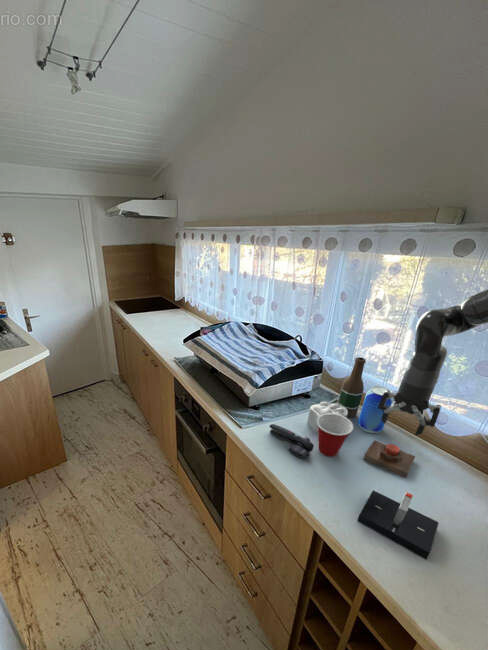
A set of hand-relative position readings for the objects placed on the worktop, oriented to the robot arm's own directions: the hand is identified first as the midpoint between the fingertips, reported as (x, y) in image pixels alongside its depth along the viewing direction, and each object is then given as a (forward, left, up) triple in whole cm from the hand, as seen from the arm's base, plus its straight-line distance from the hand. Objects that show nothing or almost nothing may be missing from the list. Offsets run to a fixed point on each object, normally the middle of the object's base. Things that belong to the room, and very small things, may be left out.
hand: (400, 428), depth 92 cm
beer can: (+10, -15, -13) cm, 23 cm away
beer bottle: (+20, -19, -13) cm, 31 cm away
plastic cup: (+16, +9, -13) cm, 23 cm away
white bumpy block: (+22, -5, -13) cm, 26 cm away
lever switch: (-8, +25, -13) cm, 29 cm away
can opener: (+27, +14, -13) cm, 33 cm away
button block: (0, 0, -13) cm, 13 cm away
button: (0, 0, -10) cm, 10 cm away
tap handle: (-8, +25, -11) cm, 28 cm away
